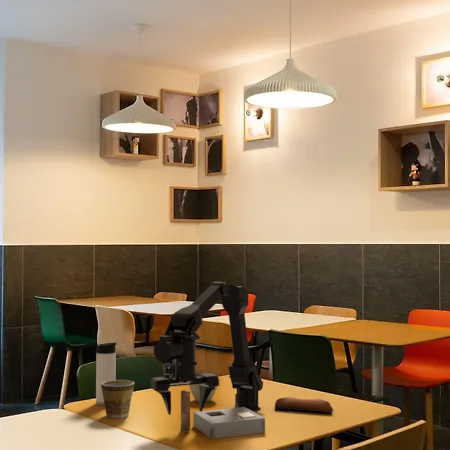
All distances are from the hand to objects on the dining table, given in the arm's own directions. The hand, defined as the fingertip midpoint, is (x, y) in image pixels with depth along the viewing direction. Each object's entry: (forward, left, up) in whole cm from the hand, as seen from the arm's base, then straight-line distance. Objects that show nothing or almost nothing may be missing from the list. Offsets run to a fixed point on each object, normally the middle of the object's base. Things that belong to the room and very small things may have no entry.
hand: (185, 412), depth 189 cm
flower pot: (-18, -33, -5) cm, 38 cm away
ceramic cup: (+14, -25, -5) cm, 29 cm away
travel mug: (+13, -41, -5) cm, 43 cm away
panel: (-12, +3, -5) cm, 13 cm away
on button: (-16, +6, -3) cm, 17 cm away
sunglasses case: (-43, -9, -6) cm, 44 cm away
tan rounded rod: (0, 0, -5) cm, 5 cm away
